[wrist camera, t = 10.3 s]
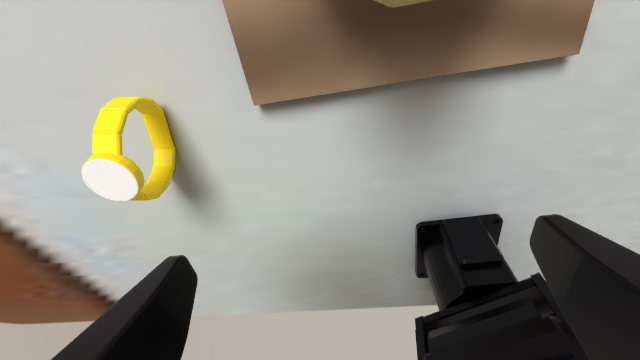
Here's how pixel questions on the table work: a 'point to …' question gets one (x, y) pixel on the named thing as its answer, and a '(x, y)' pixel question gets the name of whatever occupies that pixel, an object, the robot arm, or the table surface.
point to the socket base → (392, 40)
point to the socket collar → (399, 2)
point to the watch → (117, 170)
